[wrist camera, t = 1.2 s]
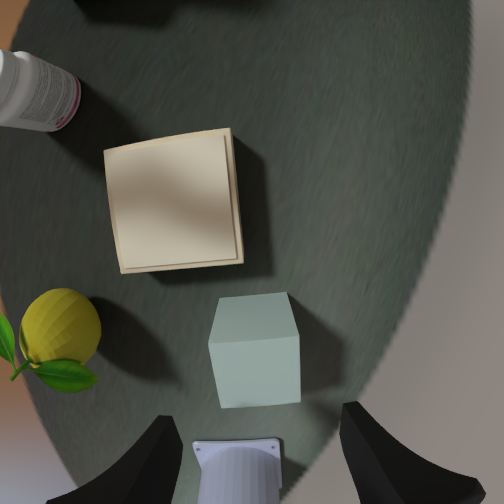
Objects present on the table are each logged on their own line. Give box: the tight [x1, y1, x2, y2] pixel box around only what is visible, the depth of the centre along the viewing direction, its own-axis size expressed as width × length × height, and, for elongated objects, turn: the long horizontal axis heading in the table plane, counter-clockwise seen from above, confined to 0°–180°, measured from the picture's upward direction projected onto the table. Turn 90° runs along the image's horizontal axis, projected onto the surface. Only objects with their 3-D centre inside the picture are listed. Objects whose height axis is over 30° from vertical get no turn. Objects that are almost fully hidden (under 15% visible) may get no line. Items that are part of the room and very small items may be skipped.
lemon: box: [0, 288, 101, 393], centre depth 16 cm, size 7×6×10 cm
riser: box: [104, 128, 244, 274], centre depth 17 cm, size 8×8×3 cm
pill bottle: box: [0, 49, 81, 132], centre depth 13 cm, size 5×5×8 cm
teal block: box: [208, 292, 301, 408], centre depth 18 cm, size 4×4×6 cm
